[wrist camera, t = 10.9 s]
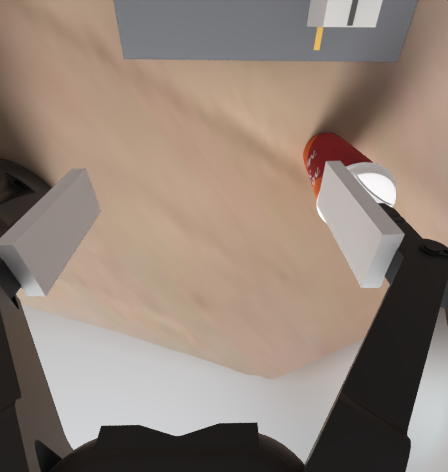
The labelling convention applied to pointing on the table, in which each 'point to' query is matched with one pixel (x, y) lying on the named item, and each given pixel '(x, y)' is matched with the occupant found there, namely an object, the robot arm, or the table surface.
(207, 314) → the table surface
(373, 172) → the paper cup
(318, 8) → the fader
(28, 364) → the robot arm
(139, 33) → the gray slider panel
